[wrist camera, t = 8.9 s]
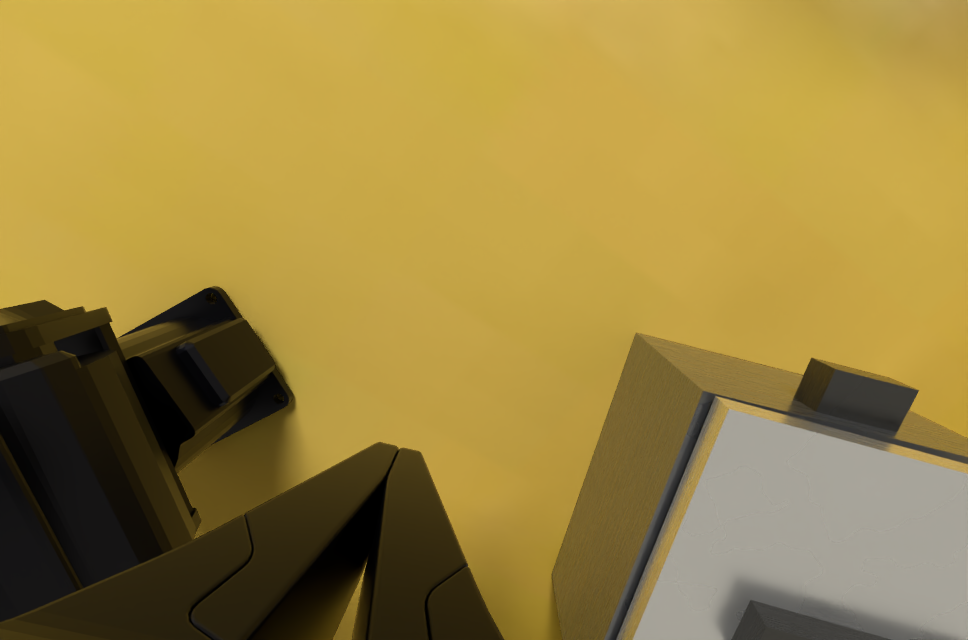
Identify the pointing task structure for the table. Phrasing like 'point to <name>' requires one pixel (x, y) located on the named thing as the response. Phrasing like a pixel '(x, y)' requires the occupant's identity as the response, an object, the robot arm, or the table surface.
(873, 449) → the lid
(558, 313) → the table surface
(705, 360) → the cooker pot
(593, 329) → the table surface
